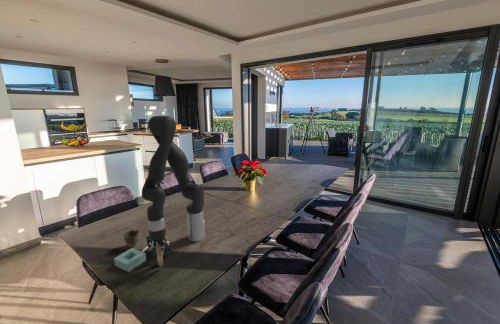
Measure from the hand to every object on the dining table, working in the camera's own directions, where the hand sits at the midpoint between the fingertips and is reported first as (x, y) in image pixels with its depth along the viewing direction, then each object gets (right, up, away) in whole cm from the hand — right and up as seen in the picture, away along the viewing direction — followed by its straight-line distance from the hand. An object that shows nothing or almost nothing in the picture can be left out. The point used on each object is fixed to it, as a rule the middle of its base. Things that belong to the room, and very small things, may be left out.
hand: (159, 257), depth 115 cm
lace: (-13, -1, +13) cm, 18 cm away
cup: (-21, 0, +16) cm, 27 cm away
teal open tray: (-15, -3, +2) cm, 16 cm away
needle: (0, -4, +1) cm, 4 cm away
